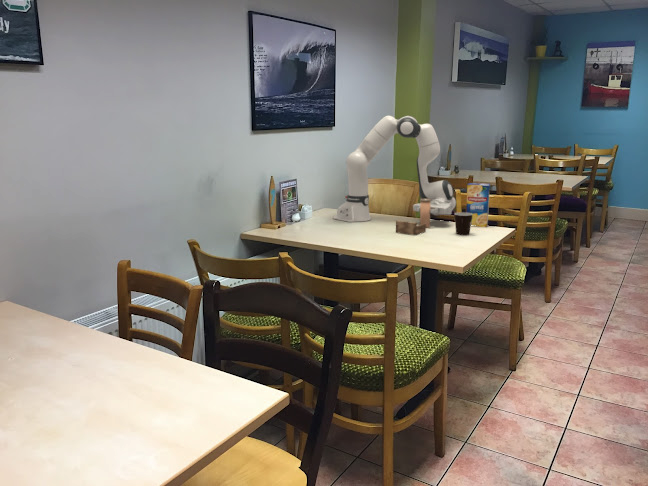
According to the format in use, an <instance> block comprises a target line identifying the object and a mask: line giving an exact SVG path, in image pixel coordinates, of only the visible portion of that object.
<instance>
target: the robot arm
mask: <svg viewBox="0 0 648 486" xmlns="http://www.w3.org/2000/svg"><path fill="white" fill-rule="evenodd" d="M396 134H398V135H400V137H402V138H407V139H409V138H410V139H412V138H413V139H415V140H416V143H417V146H418V150H419V151H418V157H416V170H417V177H418V194H419V197H420V199H424V198H427V199H431V206H430V215H433V216H442V215H444V216H449V215H450V216H451V215H452V211H453V210H454V209H455V208H456V205H457V201H456V198H455V197H454V188H453V185H452V184H451V182H449V181H448V180H446V179H443V180H437V181H433V182H429V178H428V172H427V168H428V165H429V164H430V163H432V162H434V160H435V159H437V158H438V156H439V155H440V152H441V144H440V141H439V138H438V136H437V133H436V130H435V128H434V127H433V125H432V124H431V123H423V124H420V123H418V121H417V119H416V117H414V116H411V115H405V116H402V117H399V118H397V119H396V118H395V117H394V116H392V115H385V116H384V117H383V118H381V119H380V120H379V121H378V122H377V123H376V124H375V125H374V126H373V128H371V130H370V131H369V132H368V133H367V135H366V136H365V137H364V138H363V139H362V141H361V142H360V144H359V145H358V146H357V148H356V149H355V150H354V151H353V152H351V153H349V154H348V155H347V157H346V162H345V163H346V171H347V180H348V195H346V196H344V197H345V199H346V201H344V202H343V203H342V204H341V205H339V207H338V208H337V209H336V215H334V216H333V217H332V219H334V220H338V221H341V222H347V223H351V222H352V223H354V222H367V221H371V220H372V217H371V214H370V207H369V205H370V204H369V202H370V195H369V179H368V178H369V177H368V169H367V167H368V166H369V165H370V164H371V163H372V161H373V160H374V159H375V158H376V156H377V155H378V153H380V151H381V150H382V149H383V148H384V147H385V146H386V145H387V143H389V141H390V140H391V138H392V137H393V136H394V135H396ZM412 210H413V212H416V213H418V212H419V213H420V203H419V202H418V203H415V204H413V205H412Z"/></svg>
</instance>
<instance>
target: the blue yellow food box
mask: <svg viewBox="0 0 648 486" xmlns="http://www.w3.org/2000/svg"><path fill="white" fill-rule="evenodd" d="M490 187H491V183H478V182H476V183H475V182H473V183H472V182H470V183H467V188H466V189H467V190H466V191H467V192H466V208H465V209H466V210H465V213H471V214H473V215H472V221H471V225H476V226H478V228H488V225H489V209H490V208H489V205H490V191H491V190H490Z"/></svg>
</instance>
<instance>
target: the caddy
mask: <svg viewBox="0 0 648 486" xmlns="http://www.w3.org/2000/svg"><path fill="white" fill-rule="evenodd" d="M426 230H427V228H426V224H421V225H420V224H419V225H418V223H417V222H412V221H411V222H410V221H402V220H395V233H397V234H404V235H409V236H410V235H411V236H417V235H420V233H421V234H423V233H426Z"/></svg>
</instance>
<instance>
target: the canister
mask: <svg viewBox="0 0 648 486" xmlns="http://www.w3.org/2000/svg"><path fill="white" fill-rule="evenodd" d="M431 201H432V200H431V199H427V198H424V199H422V198H420V199H419V202H420V212H419V215H420V216H419V225H421V224H426V229H430V228H429V227H431V213H430V206H431Z"/></svg>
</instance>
